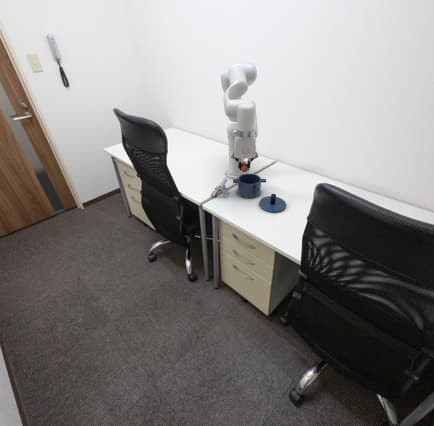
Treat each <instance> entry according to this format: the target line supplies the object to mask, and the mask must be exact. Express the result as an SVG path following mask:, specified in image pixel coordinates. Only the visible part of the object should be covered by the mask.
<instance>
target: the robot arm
mask: <svg viewBox="0 0 434 426" xmlns="http://www.w3.org/2000/svg"><path fill="white" fill-rule="evenodd" d="M257 76H258V69H257V67H256V65H255V64H254V63H252V62H245V63H244V62H242V63H233V64H232V65H230V66H229V68H228V69H226V70H224V71H222V72H221V74H220V82H221V83H220V84H221V88H222V91H223V94H224V95H223V109H224V110H223V111H224V113H225V116H226V117H227V118H228V120H229V122H231V123H230V124H228V125H227V127H226V135H227V142H228V143H227V144H228V170H227V171H226V176H227V177H228V178H230V179H238V177H239V176H240V175H243V174H247V172H249V171H250V169H251V164H252V162H253V161H254V160H256V159H258V158H259V154H258V152H257V140H256V139H257V138H258V133H259V128H258V127H259V126H258V118H257V117H258V116H257V109H256V107H257V106H256V102H255V101H254V100H253V99H252V98H251V99H250V98H242V96H244V95H245V94H247V91H248V88H249V87H251V86H252V85H253V84H254V83H255V81H256V80H257ZM245 159H248V160H247V162H246V163H247V167H248V170H247V172H242V170H241V163H242V162H245Z"/></svg>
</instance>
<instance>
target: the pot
mask: <svg viewBox="0 0 434 426" xmlns="http://www.w3.org/2000/svg"><path fill="white" fill-rule="evenodd" d="M262 183H267V179H266V178H261V176H259V175H258V174H255V173H246V174H243V175H240V176H239V177H238V179H234V178H232V184H237V195H238V196H239V197H240V198H243V199H255V198H257V197H259V196H260V195H261V187H262Z"/></svg>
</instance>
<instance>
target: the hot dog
mask: <svg viewBox="0 0 434 426" xmlns="http://www.w3.org/2000/svg"><path fill="white" fill-rule="evenodd" d="M241 170H242V172H246V173H247V172H248V167H247V162H246V161H244V162H242V163H241Z"/></svg>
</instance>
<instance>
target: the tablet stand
mask: <svg viewBox="0 0 434 426" xmlns="http://www.w3.org/2000/svg"><path fill="white" fill-rule="evenodd" d="M227 182H228V178H227V177H224V178H223V179H222V180H221V182H220V183H219V184H218V186H217V185H216V187H215V188H214V190H213V191H212V192H211V193H210V196H211V197H212V198H215V196H216V195H217V193H218V192H219V191H220V190H221V191H222V194H223V196H224V197H225V198H226V197H227V195H228V194H229V191H228V189H227V187H226V183H227Z"/></svg>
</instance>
